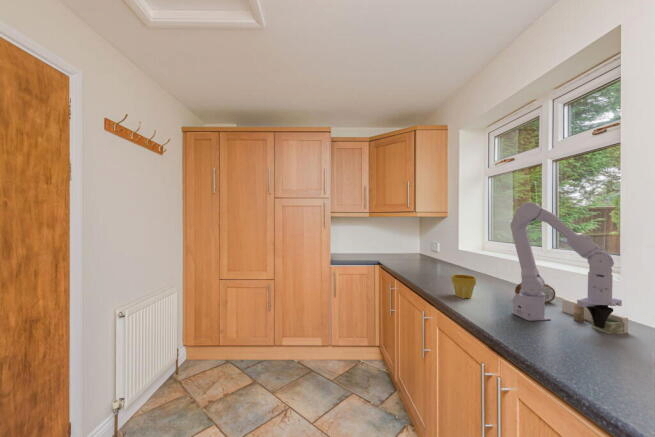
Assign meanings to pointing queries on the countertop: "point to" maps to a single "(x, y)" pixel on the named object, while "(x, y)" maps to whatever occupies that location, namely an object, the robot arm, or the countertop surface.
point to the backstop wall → (569, 308)
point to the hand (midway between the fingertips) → (598, 327)
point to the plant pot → (463, 285)
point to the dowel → (578, 313)
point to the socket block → (611, 327)
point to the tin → (546, 290)
